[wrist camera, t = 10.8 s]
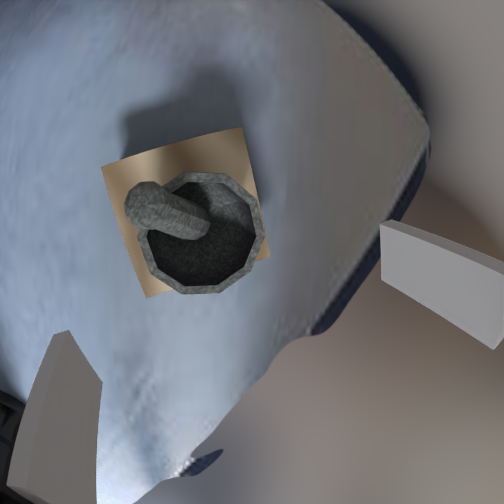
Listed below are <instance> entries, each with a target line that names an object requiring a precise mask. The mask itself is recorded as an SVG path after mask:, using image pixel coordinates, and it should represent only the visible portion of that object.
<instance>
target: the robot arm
mask: <svg viewBox="0 0 504 504" xmlns="http://www.w3.org/2000/svg"><path fill="white" fill-rule="evenodd" d="M380 240H381V279H382V280H383V281H385V282H386V283H388V284H390V285H391V286H393V287H395V288H397V289H398V290H400V291H401V292H403V293H405V294H406V295H408V296H410V297H411V298H413V299H415V300H416V301H418V302H420V303H421V304H423V305H424V306H426V307H428V308H429V309H431V310H432V311H434V312H436V313H437V314H439V315H440V316H442V317H444V318H445V319H447V320H448V321H450V322H452V323H453V324H455V325H456V326H458V327H459V328H461V329H462V330H464V331H465V332H467V333H468V334H470V335H472V336H473V337H475V338H476V339H478V340H479V341H481V342H482V343H484V344H485V345H487V346H488V347H490V348H491V349H493V350H494V349H495V348H496V347H497V345H498V344H499V343H500V342H501V341H502V339H503V337H504V262H502V261H500V260H497V259H495V258H493V257H490V256H488V255H486V254H483V253H481V252H478V251H476V250H473V249H471V248H468V247H466V246H463V245H461V244H458V243H456V242H453V241H451V240H448V239H445V238H443V237H440V236H437V235H434V234H432V233H429V232H426V231H423V230H421V229H418V228H415V227H412V226H409V225H406V224H403V223H400V222H397V221H394V220H389V221H387V222H384V223H381V224H380ZM102 383H103V382H102V381H101V380H100V378H99V377H98V375H97V374H96V372H95V371H94V370H93V368H92V367H91V365H90V364H89V362H88V361H87V359H86V357H85V356H84V354H83V353H82V351H81V350H80V348H79V346H78V345H77V343H76V341H75V340H74V338H73V336H72V335H71V333H70V331H69V330H67V331H64V332H61V333H58V334H54V335H53V338H52V340H51V342H50V344H49V346H48V349H47V351H46V353H45V356H44V358H43V361H42V363H41V366H40V368H39V371H38V373H37V376H36V378H35V381H34V384H33V386H32V389H31V392H30V395H29V398H28V401H27V404H26V406H25V405H23V404H22V403H21V402H19V401H18V400H16V399H15V398H13V397H12V396H10V395H8V394H6V393H4V392H1V391H0V504H97V500H96V454H97V434H98V421H99V409H100V400H101V391H102Z"/></svg>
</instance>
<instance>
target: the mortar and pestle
mask: <svg viewBox="0 0 504 504" xmlns="http://www.w3.org/2000/svg"><path fill="white" fill-rule="evenodd" d="M124 209H125V214H126V219H127V220H128V221H129V222H130V223H131V224H132V225H134V226H135V227H136V228H139V231H138V234H137V239H138V242H139V245H140V247H141V250H142V253H143V256H144V259H145V261H146V264H147V267H148V269H149V272H150V274H151V275H153V276H154V277H156V278H157V279H159V280H160V281H162V282H163V283H165V284H166V285H168V286H170V287H171V288H173V289H174V290H176V291H178V292H179V293H181V294H206V293H220V292H222V291H223V290H225V289H226V288H228V287H229V286H230V285H232V284H233V283H235V282H236V281H238V280H239V279H240V278H242V277H243V276H245V275H246V274H248V273H249V272H250V271H251V269H252V267H253V265H254V262H255V260H256V257H257V255H258V252H259V250H260V248H261V245H262V243H263V240H264V238H265V234H264V229H263V224H262V220H261V215H260V211H259V206H258V202H257V199H256V198H255V197H254V196H252V195H251V194H250V193H249V192H248V191H247V190H245V189H244V188H243V187H242V186H241V185H240V184H238V183H237V182H236V181H235V180H234V179H232V178H231V177H230V176H229V175H228V174H225V173H209V172H182V173H181V174H179V175H178V176H176V177H175V178H174V179H172V180H171V181H169V182H168V183H166V184H165V185H163V186H160V185H159V184H158V183H156V182H154V181H145V182H139V183H138V184H137V185H135V186H134V187H133V188H132V189H130V190H129V192H128V194H127V197H126V199H125V202H124Z"/></svg>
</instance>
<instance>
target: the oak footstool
mask: <svg viewBox="0 0 504 504" xmlns="http://www.w3.org/2000/svg"><path fill="white" fill-rule="evenodd" d="M101 169H102V173H103V176H104V180H105V183H106V187H107V190H108V194H109V197H110V200H111V204H112V207H113V210H114V213H115V216H116V219H117V222H118V225H119V228H120V231H121V234H122V237H123V240H124V242H125V245H126V248H127V251H128V253H129V256H130V259H131V261H132V264H133V266H134V269H135V272H136V274H137V277H138V279H139V282H140V284H141V286H142V289H143V291H144V294H145V296H146V298H148V297H151V296H154V295H157V294H160V293H163V292H166V291H169V290H172V289H173V288H171V287H170V286H168V285H166V284H165V283H163V282H162V281H160V280H159V279H157V278H156V277H154V276H153V275H151V274H150V272H149V269H148V267H147V264H146V261H145V259H144V256H143V253H142V250H141V247H140V245H139V242H138V239H137V234H138V231H139V228H136V227H135V226H134V225H132V224H131V223H130V222H129V221H128V220H127V219H126V214H125V209H124V202H125V199H126V197H127V194H128V192H129V190H130V189H132V188H133V187H134V186H135V185H137V184H138V183H139V182H145V181H154V182H156V183H158V184H159V185H160V186H163V185H165V184H166V183H168V182H169V181H171V180H172V179H174V178H175V177H176V176H178V175H179V174H181V173H182V172H209V173H225V174H228V175H229V176H230V177H231V178H232V179H234V180H235V181H236V182H237V183H238V184H240V185H241V186H242V187H243V188H244V189H245V190H247V191H248V192H249V193H250V194H251V195H252V196H254V197H255V198H256V199H257V202H258V206H259V211H260V215H261V220H262V224H263V229H264V234H265V238H264V240H263V243H262V245H261V248H260V250H259V252H258V255H257V257H256V260H255V262H256V261H259V260H261V259H264V258H267V257H270V251H269V247H268V242H267V237H266V233H265V228H264V223H263V219H262V214H261V209H260V205H259V200H258V196H257V191H256V187H255V182H254V178H253V173H252V169H251V164H250V160H249V155H248V151H247V146H246V142H245V138H244V133H243V129H242V127H237V128H232V129H228V130H223V131H219V132H214V133H210V134H206V135H202V136H198V137H194V138H190V139H186V140H183V141H179V142H176V143H172V144H169V145H165V146H162V147H158V148H155V149H152V150H149V151H146V152H142V153H139V154H136V155H133V156H130V157H127V158H124V159H122V160H119V161H116V162H113V163H110V164H108V165H105V166H102V167H101Z"/></svg>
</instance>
